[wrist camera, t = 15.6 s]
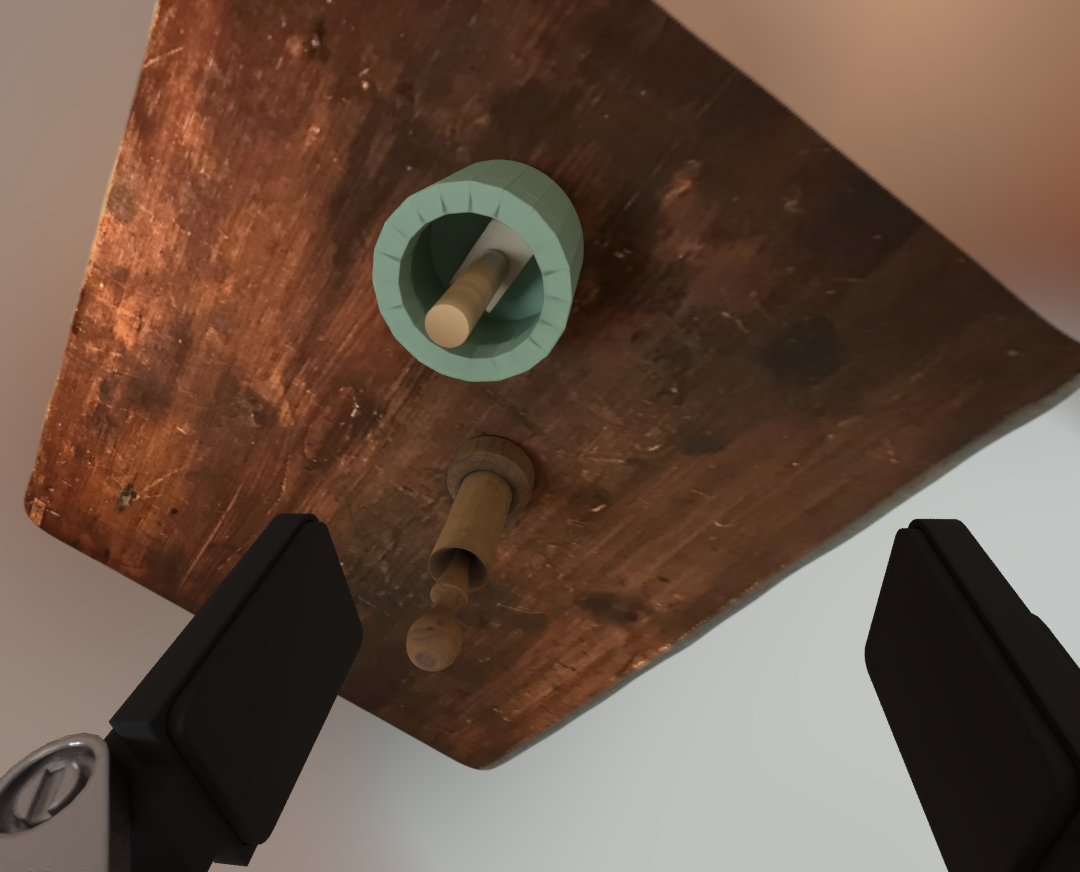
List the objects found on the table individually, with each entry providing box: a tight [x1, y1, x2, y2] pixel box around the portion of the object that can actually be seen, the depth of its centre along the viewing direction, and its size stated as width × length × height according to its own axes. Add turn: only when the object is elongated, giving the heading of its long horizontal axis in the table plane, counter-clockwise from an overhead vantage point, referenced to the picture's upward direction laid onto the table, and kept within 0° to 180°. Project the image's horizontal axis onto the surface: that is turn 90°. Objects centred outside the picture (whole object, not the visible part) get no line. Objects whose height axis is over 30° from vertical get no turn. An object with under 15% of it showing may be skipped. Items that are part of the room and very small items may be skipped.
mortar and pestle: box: [406, 436, 535, 671], centre depth 39 cm, size 7×6×18 cm
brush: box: [425, 218, 534, 348], centre depth 31 cm, size 5×3×13 cm, turn 143°
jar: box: [372, 160, 584, 382], centre depth 34 cm, size 10×10×9 cm
